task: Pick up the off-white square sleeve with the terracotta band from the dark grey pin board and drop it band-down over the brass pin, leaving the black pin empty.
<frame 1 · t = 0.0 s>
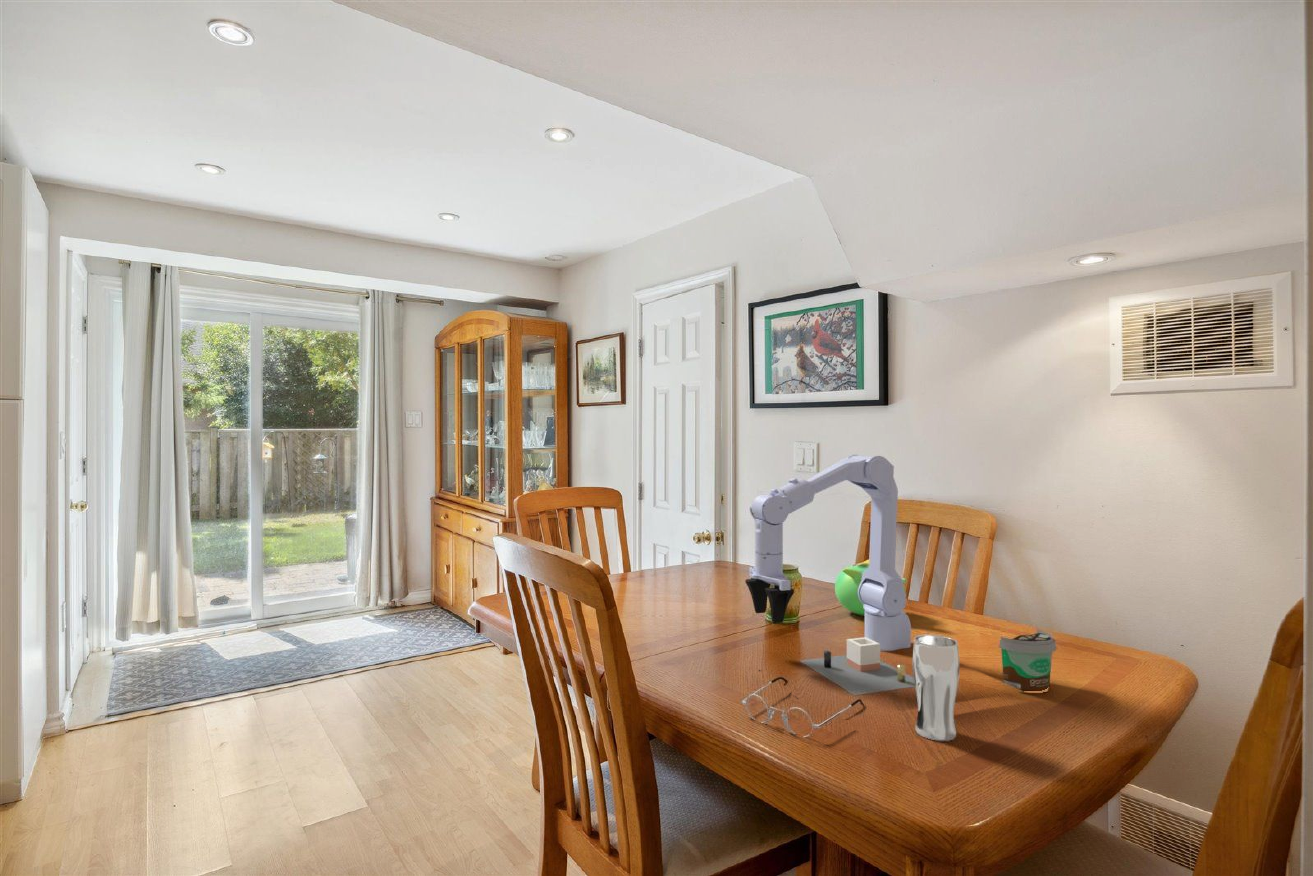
hand: (768, 617, 135), 10 cm above the table, tool pointing down, fingers open, 7 cm apart
eyeglasses: (802, 716, 113), on the table
food container: (1034, 690, 123), on the table
beer glass: (935, 734, 105), on the table
toy bird: (869, 616, 174), on the table
pin board: (860, 679, 128), on the table
black pin: (827, 666, 131), resting on pin board
brass pin: (901, 681, 123), resting on pin board
sleeve: (863, 666, 131), point 1 cm above the table, touching pin board
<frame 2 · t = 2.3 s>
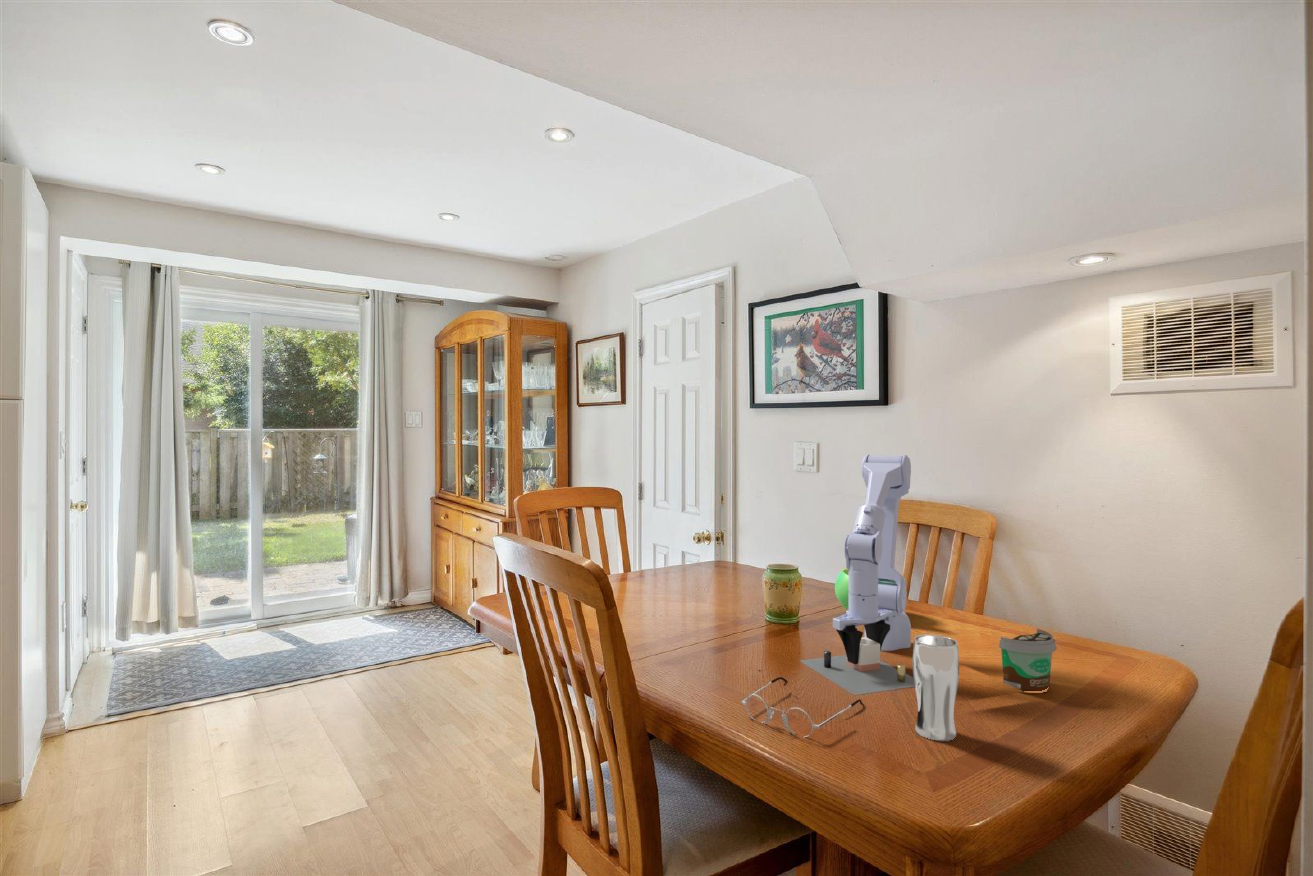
hand: (863, 660, 131), 3 cm above the table, tool pointing down, fingers closed on sleeve, 5 cm apart
sleeve: (863, 666, 131), point 2 cm above the table, touching gripper, pin board
everything else where it was.
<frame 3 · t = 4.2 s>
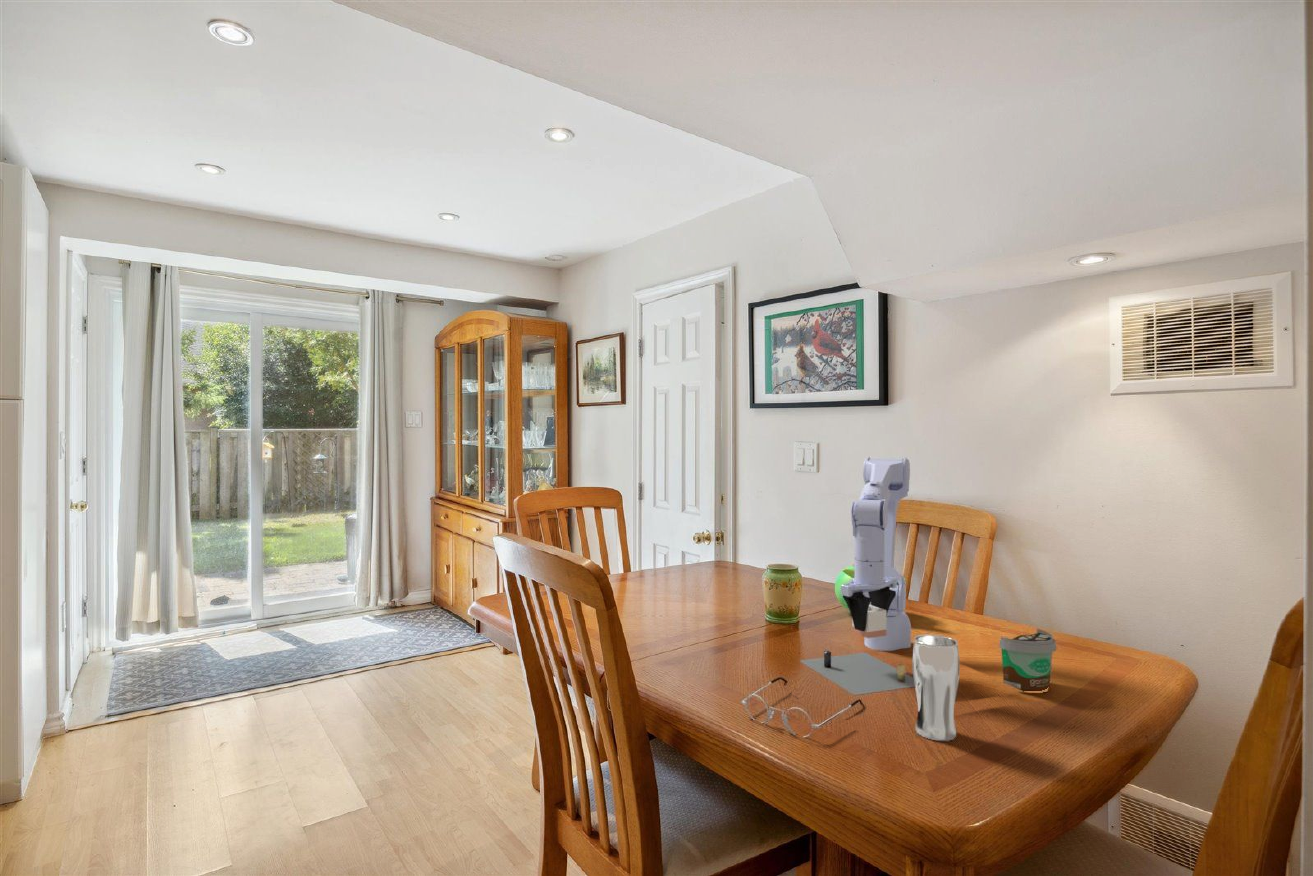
hand: (869, 627, 129), 10 cm above the table, tool pointing down, fingers closed on sleeve, 5 cm apart
sleeve: (869, 633, 129), point 9 cm above the table, touching gripper
everything else where it was.
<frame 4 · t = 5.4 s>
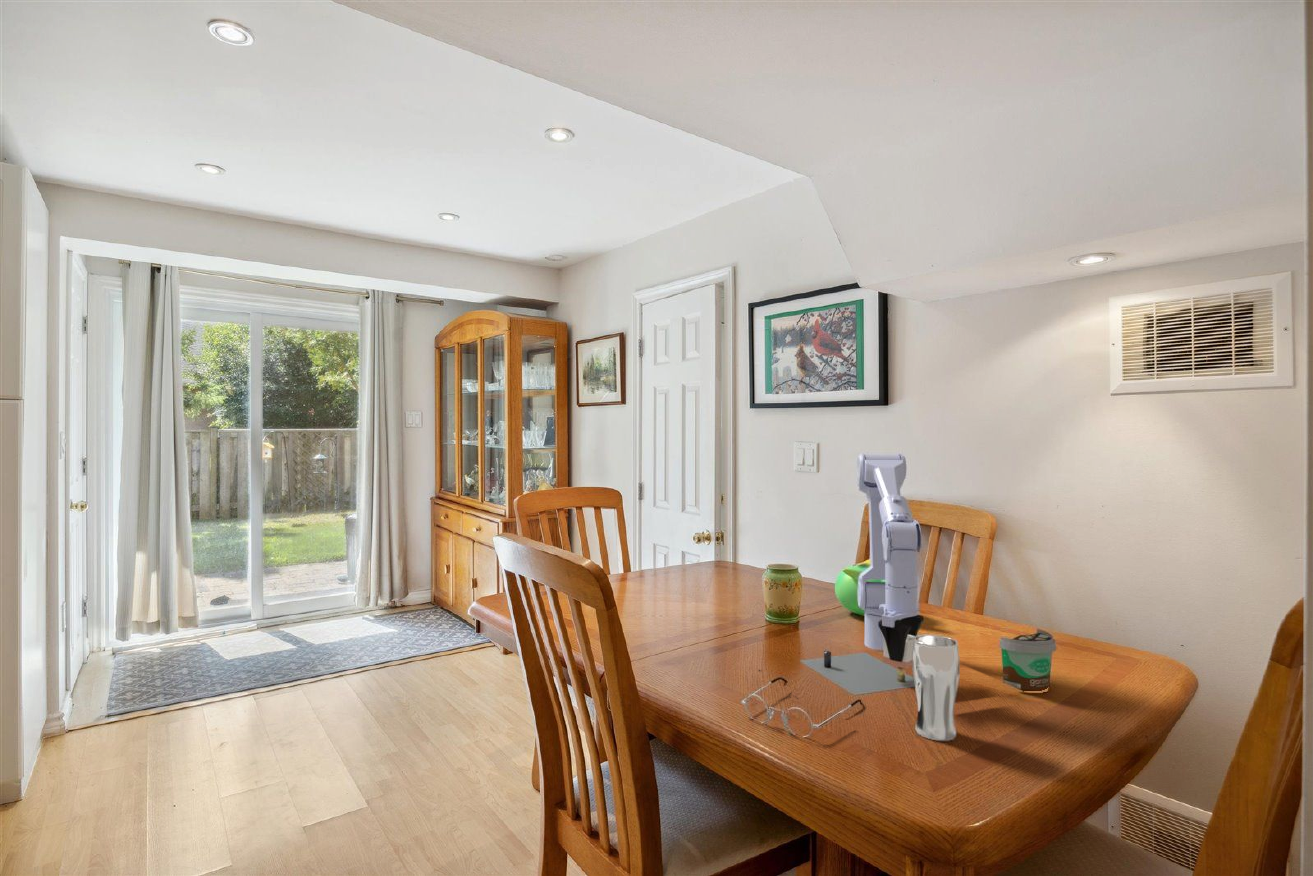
hand: (901, 656, 123), 6 cm above the table, tool pointing down, fingers closed on sleeve, 5 cm apart
sleeve: (900, 662, 123), point 5 cm above the table, touching gripper
everything else where it was.
when the fingers open (5 cm above the table, at t = 6.2 s): sleeve drops 2 cm, resting on pin board.
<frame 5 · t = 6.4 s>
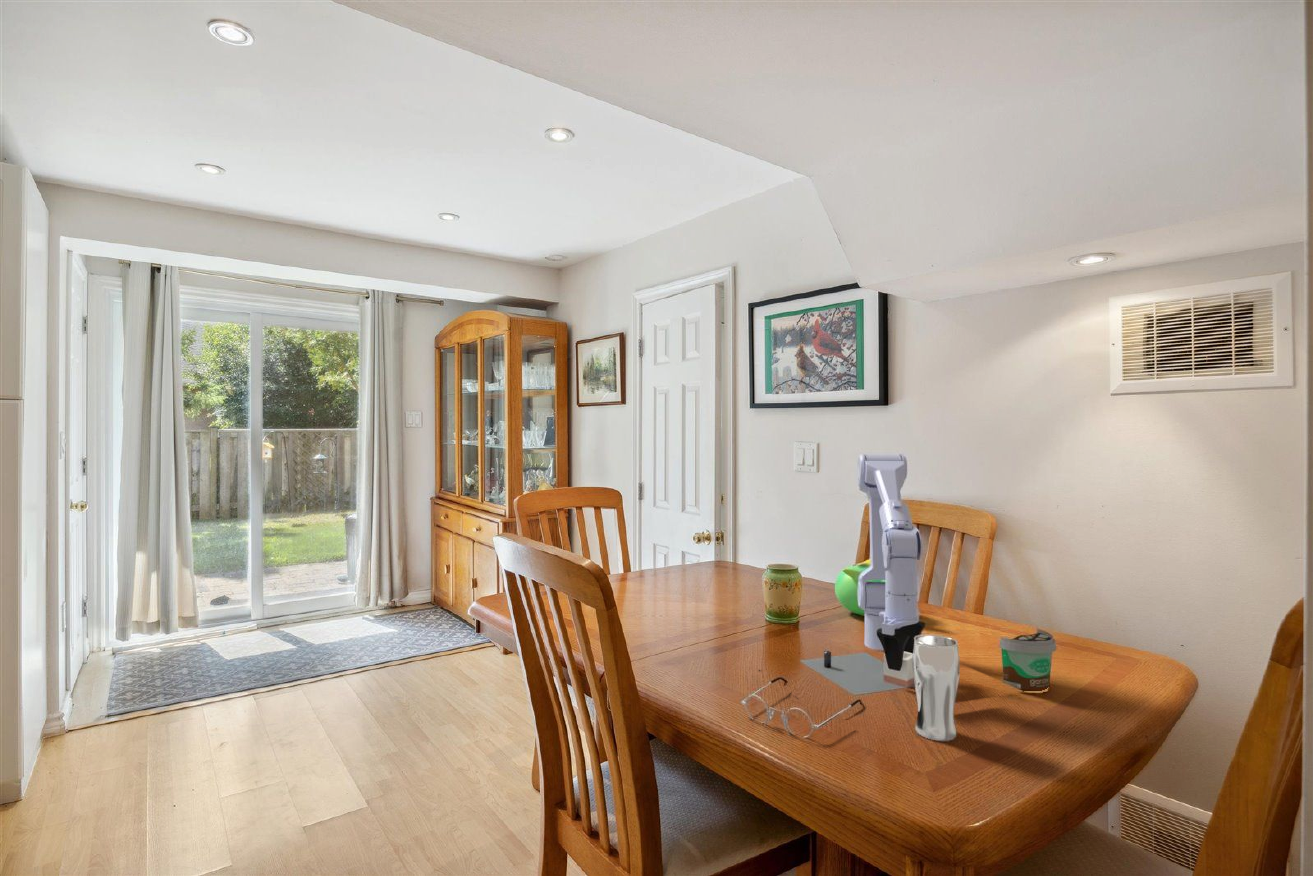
hand: (901, 664, 123), 5 cm above the table, tool pointing down, fingers open, 7 cm apart
sleeve: (900, 681, 123), point 1 cm above the table, touching pin board
everything else where it was.
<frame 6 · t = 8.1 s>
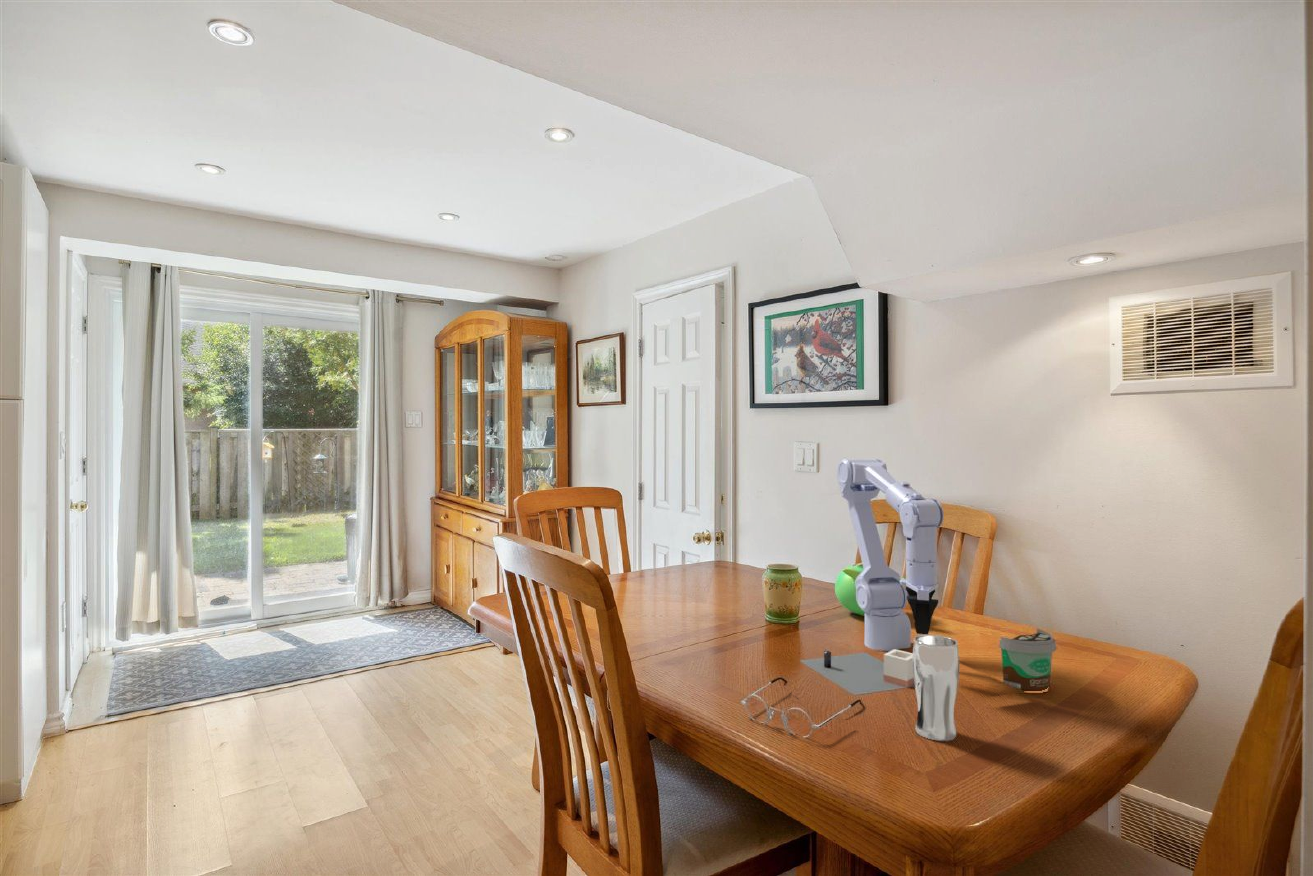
hand: (921, 628, 129), 10 cm above the table, tool pointing down, fingers open, 7 cm apart
nothing on the table moved.
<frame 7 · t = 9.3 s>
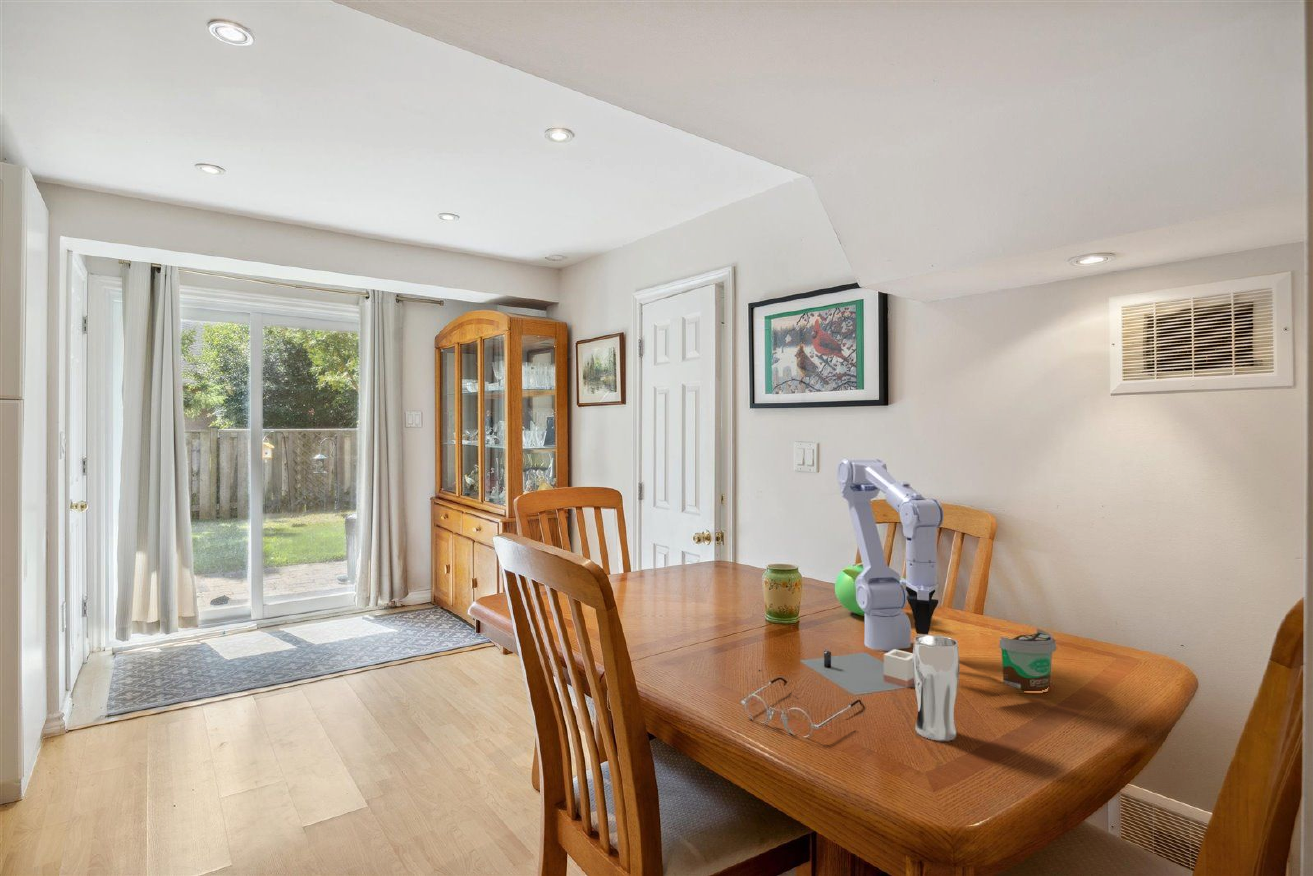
hand: (921, 628, 129), 10 cm above the table, tool pointing down, fingers open, 7 cm apart
nothing on the table moved.
at the end: sleeve 0.1 cm from the brass pin (horizontally); sleeve point 1.5 cm above the table; sleeve tilted 0° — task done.
